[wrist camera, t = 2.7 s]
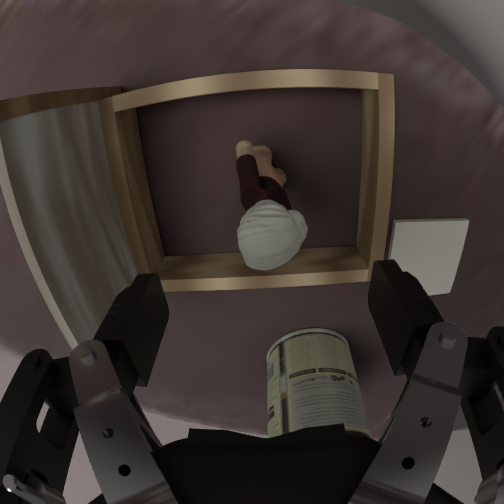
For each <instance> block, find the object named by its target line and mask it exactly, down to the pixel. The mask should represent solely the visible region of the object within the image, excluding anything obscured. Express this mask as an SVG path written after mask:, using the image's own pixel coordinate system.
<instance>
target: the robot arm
mask: <svg viewBox="0 0 504 504" xmlns="http://www.w3.org/2000/svg"><path fill="white" fill-rule="evenodd" d="M368 305H369V310H370V312H371V315H372V317H373V320H374V322H375V325H376V327H377V330H378V332H379V335H380V337H381V340H382V343H383V345H384V348H385V350H386V353H387V356H388V359H389V361H390V364H391V367H392V370H393V372H394V375H395V376H398V375H403V374H406V376H407V379H408V380H407V382H406V384H405V386H404V389H403V391H402V393H401V395H400V398H399V400H398V402H397V404H396V406H395V408H394V410H393V413H392V415H391V417H390V419H389V421H388V423H387V425H386V427H385V428H384V430H383V432H382V434H381V435H380V437H379V439H378V441H375V440H373V439H371V438H368V437H366V436H362V435H359V434H354V433H346V432H345V426H344V423H340V424H332V425H324V426H315V427H306V428H302V429H299V430H296V431H292V432H289V433H286V434H282V435H278V436H275V437H271V438H260V437H255V436H250V435H245V434H241V433H237V432H232V431H228V430H210V429H209V430H208V429H192V428H190V429H189V434H188V438H185V439H181V440H177V441H174V442H171V443H169V444H166V445H164V446H163V445H162V444H161V443H160V441H159V439H158V438H157V437H156V435H155V433H154V431H153V430H152V428H151V426H150V424H149V422H148V420H147V418H146V417H145V415H144V413H143V411H142V409H141V407H140V405H139V403H138V401H137V399H136V397H135V395H134V394H133V391H134V388H135V386H143V387H147V384H148V381H149V378H150V375H151V371H152V368H153V365H154V362H155V359H156V356H157V353H158V349H159V346H160V343H161V340H162V337H163V334H164V331H165V328H166V325H167V322H168V319H169V308H168V304H167V300H166V297H165V294H164V291H163V287H162V284H161V281H160V278H159V275H158V274H157V273H147V274H137V275H136V277H135V279H134V280H133V282H132V284H131V286H130V287H126V288H125V289H124V290H123V291H121V292H120V293H119V294H118V295H117V296H116V298H115V300H114V302H113V303H112V306H111V307H110V309H109V310H108V314H106V316H105V317H104V319H103V321H102V323H101V325H100V327H99V328H98V330H97V332H96V334H95V336H94V338H93V340H87V341H84V342H82V343H80V344H79V345H77V346H76V347H75V348H74V349H73V350H72V352H71V354H70V356H69V357H64V358H58V359H52V357H51V356H50V354H49V353H48V352H47V351H46V350H44V349H36V350H33V351H31V352H30V353H28V354H27V355H26V356H25V357H24V358H23V360H22V361H21V363H20V365H19V367H18V368H17V370H16V372H15V374H14V376H13V378H12V380H11V382H10V384H9V386H8V388H7V390H6V392H5V394H4V396H3V398H2V400H1V402H0V504H66V501H65V499H64V497H63V490H64V485H65V482H66V477H67V473H68V469H69V466H70V462H71V458H72V454H73V451H74V447H75V444H76V440H77V437H78V433H79V431H80V434H81V437H82V441H83V443H84V447H85V449H86V452H87V455H88V458H89V461H90V463H91V466H92V469H93V471H94V474H95V476H96V479H97V481H98V483H99V486H100V488H101V491H102V494H100V495H99V496H98V497H96V498H95V499H94V500H92V501H91V502H90V503H88V504H464V503H462V502H461V501H459V500H458V499H456V498H455V497H453V496H452V495H450V494H449V493H447V492H446V491H444V490H443V489H442V488H440V487H439V486H437V485H436V484H435V483H433V481H434V479H435V477H436V474H437V472H438V469H439V467H440V465H441V462H442V459H443V457H444V454H445V451H446V449H447V446H448V443H449V440H450V437H451V434H452V431H453V428H454V424H455V421H456V417H457V414H458V410H459V407H460V404H461V407H462V410H463V413H464V416H465V419H466V422H467V425H468V428H469V431H470V435H471V438H472V441H473V445H474V448H475V452H476V455H477V459H478V463H479V467H480V471H481V476H482V480H483V481H482V482H481V484H480V486H479V488H478V492H477V495H476V497H475V499H474V503H475V504H504V411H503V408H502V406H501V403H500V401H499V398H498V396H497V393H496V391H495V389H494V388H495V387H496V386H497V385H498V387H499V390H500V392H501V394H502V397H503V399H504V327H502V326H497V327H493V328H492V329H491V330H490V331H489V333H488V335H487V337H486V338H474V337H467V336H466V334H465V332H464V331H463V330H462V329H461V328H460V327H459V326H457V325H455V324H453V323H450V322H445V321H444V320H443V318H442V316H441V315H440V313H439V311H438V310H437V308H436V307H435V305H434V303H433V302H432V300H431V299H430V297H428V294H427V293H426V291H425V290H424V289H423V287H422V285H421V284H420V282H419V281H418V279H417V278H416V277H414V276H413V275H412V274H410V273H409V272H408V271H404V272H403V271H402V270H401V268H400V267H399V265H398V264H397V262H396V261H395V260H394V259H389V260H376V261H374V263H373V267H372V274H371V280H370V286H369V292H368ZM44 402H45V403H46V404H47V405H48V406H49V409H48V411H47V414H46V417H45V419H44V422H43V425H42V427H41V430H40V433H39V432H38V430H37V426H36V422H37V418H38V416H39V413H40V410H41V408H42V406H43V403H44Z"/></svg>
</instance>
